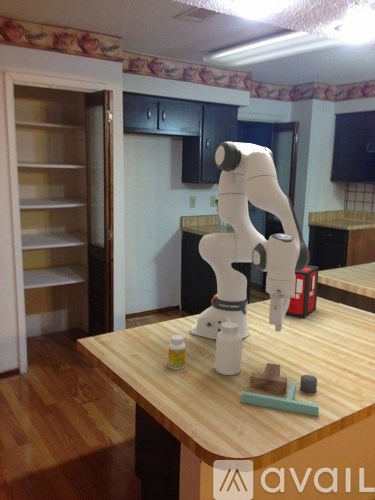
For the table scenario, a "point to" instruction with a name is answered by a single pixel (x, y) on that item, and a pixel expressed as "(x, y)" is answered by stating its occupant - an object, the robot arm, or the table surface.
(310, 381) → the grey rounded lump
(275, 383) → the t block
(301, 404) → the rail
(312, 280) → the cleaning product box
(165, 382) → the table surface
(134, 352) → the table surface
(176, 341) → the supplement bottle
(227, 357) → the pill bottle
